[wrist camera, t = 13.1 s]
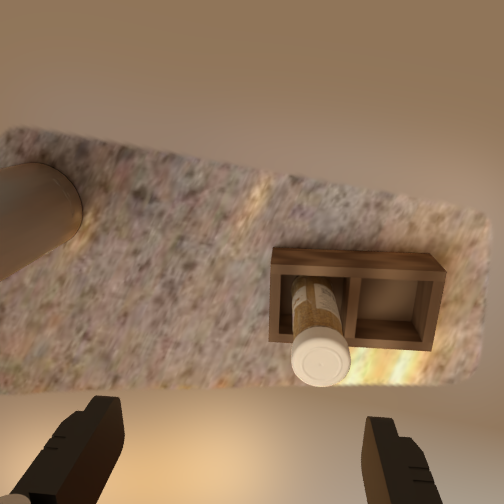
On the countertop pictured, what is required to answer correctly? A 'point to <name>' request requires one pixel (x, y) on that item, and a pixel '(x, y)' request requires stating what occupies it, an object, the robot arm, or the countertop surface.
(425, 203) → the countertop surface
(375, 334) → the spice caddy
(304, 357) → the sprinkles bottle
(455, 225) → the countertop surface
